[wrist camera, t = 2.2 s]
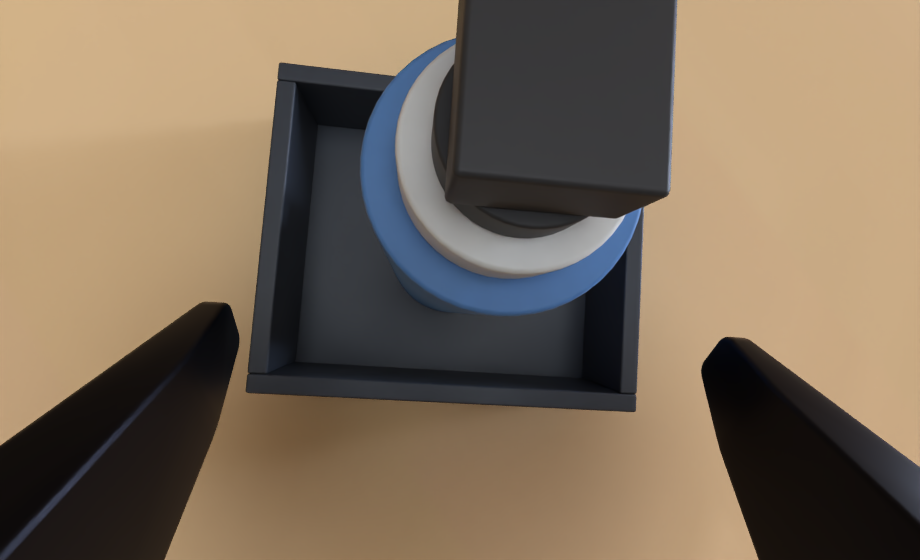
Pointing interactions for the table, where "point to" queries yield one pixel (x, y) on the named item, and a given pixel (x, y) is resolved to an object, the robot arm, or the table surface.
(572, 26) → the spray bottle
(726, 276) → the table surface
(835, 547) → the robot arm
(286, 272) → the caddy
